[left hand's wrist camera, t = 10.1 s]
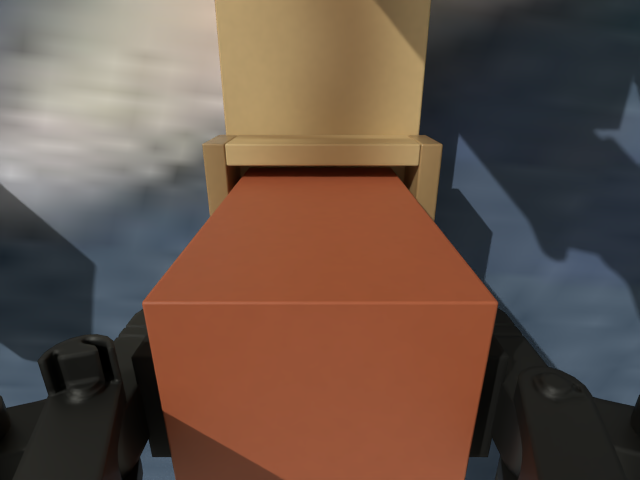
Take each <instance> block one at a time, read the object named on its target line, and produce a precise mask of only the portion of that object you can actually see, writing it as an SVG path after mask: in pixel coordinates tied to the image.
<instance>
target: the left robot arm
mask: <svg viewBox="0 0 640 480" xmlns="http://www.w3.org/2000/svg"><path fill="white" fill-rule="evenodd" d="M38 364H39V367H40V370H41V374H42V377H43V380H44V383H45V386H46V389H47V392H48V398H47V399H44V400H41V401H36V402H32V403H27V404H23V405H18V406H13V407H9V408H6V406H5V404H4V401H3V398H2V396H0V480H142V477H143V470H142V463H141V459H140V456H141V453H142V451H143V449H144V447H145V445H146V443H147V441H148V439H149V443H150V448H151V453H152V457H171V452H170V447H169V442H168V437H167V431H166V426H165V421H164V416H163V410H162V405H161V400H160V395H159V389H158V384H157V379H156V374H155V368H154V363H153V358H152V353H151V347H150V342H149V337H148V332H147V326H146V321H145V316H144V311H143V309H142V310H141V311H139V312H138V313H136V314H135V315H134V316H133V318H132V319H131V320H130V321H129V323H128V324H127V325H126V328H124V329H123V330H122V332H121V333H120V334H119V337H118V338H116V339H115V341H114V342H113V340H111V339H110V338H109V337H108V336H103V335H98V334H94V335H83V336H79V337H75V338H71V339H68V340H66V341H63V342H61V343H59V344H56V345H55V346H53V347H52V348H50V349H49V350H48V351H46V352H45V353H44V354H43V355H42V356H41V357H40V359H39V360H38ZM492 438H493V440H494V442H495V445H496V447H497V449H498V451H499V453H500V459H499V463H498V468H497V472H496V476H495V480H640V395H639V397H638V399H637V402H636V405H635V406H630V405H626V404H621V403H616V402H612V401H607V400H603V399H599V398H595V397H592V395H591V393H590V392H589V390H588V389H587V388H586V386H585V385H584V384H582V383H581V382H580V381H579V380H577V379H576V378H575V377H573V376H571V375H569V374H567V373H565V372H563V371H561V370H557V369H554V368H550V367H548V366H547V365H546V364H545V362H544V361H543V360H542V359H541V357H540V356H539V355H538V353H537V352H536V351H535V350H534V348H533V347H532V346H531V345H530V343H529V342H528V341H527V340H526V338H525V337H524V336H522V333H521V332H520V331H519V330H518V328H517V327H515V326H514V323H513V322H512V321H511V319H510V318H509V317H508V316H507V314H506V313H505V312H503V311H502V310H500V309H499V308H497V313H496V318H495V324H494V329H493V334H492V339H491V345H490V350H489V355H488V360H487V366H486V371H485V376H484V381H483V386H482V392H481V397H480V402H479V407H478V413H477V418H476V423H475V428H474V433H473V439H472V444H471V449H470V454H469V457H488V454H489V449H490V444H491V440H492Z"/></svg>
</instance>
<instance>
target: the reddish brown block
mask: <svg viewBox="0 0 640 480" xmlns="http://www.w3.org/2000/svg"><path fill="white" fill-rule="evenodd" d="M142 305H143V311H144V316H145V321H146V326H147V332H148V337H149V342H150V347H151V353H152V358H153V363H154V368H155V374H156V379H157V384H158V389H159V395H160V400H161V405H162V410H163V416H164V421H165V426H166V431H167V437H168V442H169V447H170V452H171V458H172V463H173V468H174V473H175V479H176V480H465V475H466V470H467V465H468V460H469V454H470V449H471V444H472V439H473V433H474V428H475V423H476V418H477V413H478V407H479V402H480V397H481V392H482V386H483V381H484V376H485V371H486V366H487V360H488V355H489V350H490V345H491V339H492V334H493V329H494V324H495V318H496V313H497V308H498V301H497V300H496V299H495V298H494V296H493V295H492V294H491V293H490V291H489V290H488V289H487V288H486V286H485V285H484V284H483V283H482V281H481V280H480V279H479V278H478V276H477V275H476V274H475V273H474V271H473V270H472V269H471V268H470V266H469V265H468V264H467V262H466V261H465V260H464V259H463V257H462V256H461V255H460V254H459V252H458V251H457V250H456V249H455V247H454V246H453V245H452V244H451V242H450V241H449V240H448V239H447V237H446V236H445V235H444V234H443V232H442V231H441V230H440V229H439V227H438V226H437V225H436V224H435V222H434V221H433V220H432V219H431V217H430V216H429V215H428V214H427V212H426V211H425V210H424V209H423V207H422V206H421V205H420V204H419V202H418V201H417V200H416V199H415V197H414V196H413V195H412V194H411V192H410V191H409V190H408V189H407V187H406V186H405V185H404V184H403V182H402V181H401V180H400V179H399V177H398V176H397V175H396V174H395V172H394V171H393V170H392V169H391V168H249V169H248V170H247V171H246V173H245V174H244V175H243V176H242V178H241V179H240V180H239V181H238V183H237V184H236V185H235V186H234V188H233V189H232V190H231V191H230V193H229V194H228V195H227V196H226V198H225V199H224V200H223V201H222V203H221V204H220V205H219V207H218V208H217V209H216V210H215V212H214V213H213V214H212V215H211V217H210V218H209V219H208V220H207V222H206V223H205V224H204V225H203V227H202V228H201V229H200V230H199V232H198V233H197V234H196V235H195V237H194V238H193V239H192V240H191V242H190V243H189V244H188V245H187V247H186V248H185V249H184V250H183V252H182V253H181V254H180V255H179V257H178V258H177V259H176V260H175V262H174V263H173V264H172V266H171V267H170V268H169V269H168V271H167V272H166V273H165V274H164V276H163V277H162V278H161V279H160V281H159V282H158V283H157V284H156V286H155V287H154V288H153V289H152V291H151V292H150V293H149V294H148V296H147V297H146V298H145V299H144V301H143V303H142Z"/></svg>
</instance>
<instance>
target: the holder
mask: <svg viewBox="0 0 640 480" xmlns="http://www.w3.org/2000/svg"><path fill="white" fill-rule="evenodd" d="M430 7H431V0H215V9H216V21H217V32H218V44H219V56H220V68H221V79H222V91H223V103H224V115H225V126H226V135H218V136H217V137H215V138H213V139H211V140H209V141H207V142H206V143H204V144H203V145H202V146H203V155H204V164H205V174H206V183H207V192H208V202H209V211H210V217H211V215H212V214H213V213H214V212H215V210H216V209H217V208H218V207H219V205H220V204H221V203H222V201H223V200H224V199H225V198H226V196H227V195H228V194H229V193H230V191H231V190H232V189H233V188H234V186H235V185H236V184H237V183H238V181H239V180H240V179H241V178H242V176H243V175H244V174H245V173H246V171H247V170H248V169H249V168H391V169H392V170H393V171H394V172H395V174H396V175H397V176H398V177H399V179H400V180H401V181H402V182H403V184H404V185H405V186H406V187H407V189H408V190H409V191H410V192H411V194H412V195H413V196H414V197H415V199H416V200H417V201H418V202H419V204H420V205H421V206H422V207H423V209H424V210H425V211H426V212H427V214H428V215H429V216H430V217H431V219H432V220H433V221H434V220H435V211H436V202H437V193H438V184H439V176H440V167H441V158H442V149H443V145H442V144H441V143H439V142H437V141H435V140H433V139H432V138H430V137H428V136H426V135H419V129H420V118H421V107H422V95H423V84H424V73H425V62H426V51H427V40H428V29H429V18H430Z"/></svg>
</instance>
